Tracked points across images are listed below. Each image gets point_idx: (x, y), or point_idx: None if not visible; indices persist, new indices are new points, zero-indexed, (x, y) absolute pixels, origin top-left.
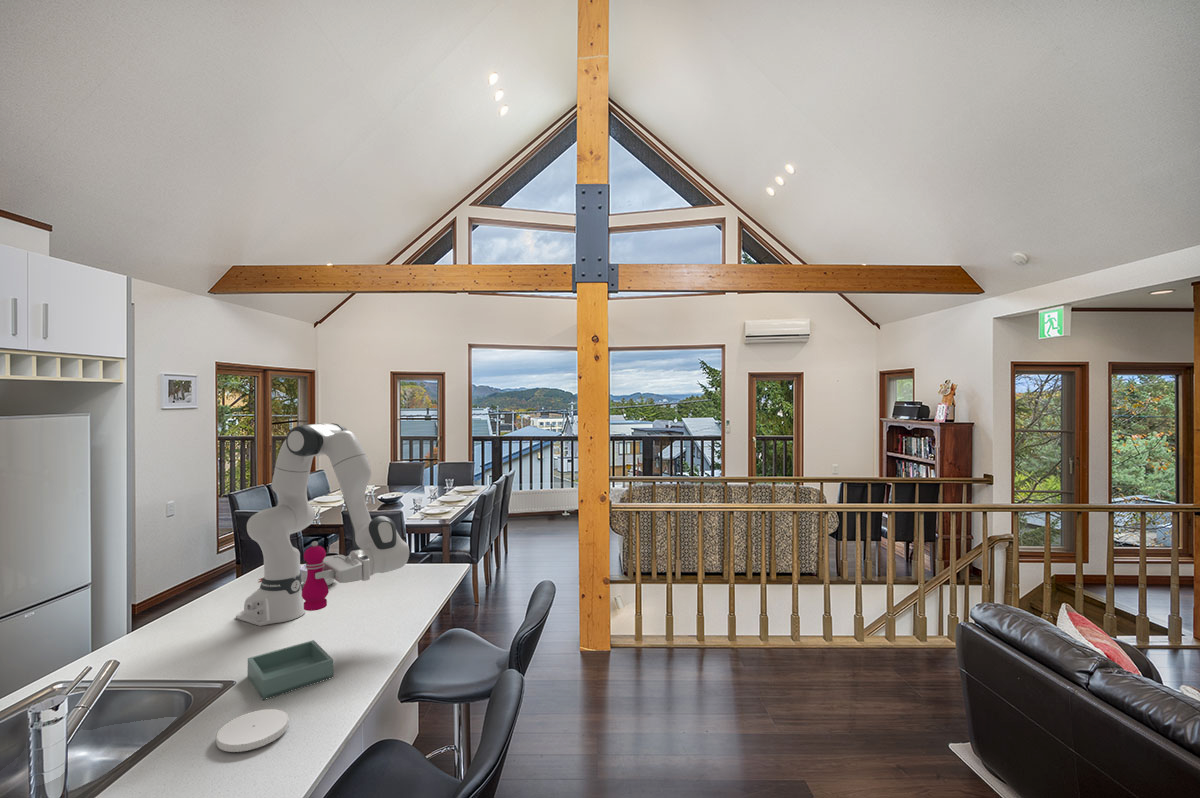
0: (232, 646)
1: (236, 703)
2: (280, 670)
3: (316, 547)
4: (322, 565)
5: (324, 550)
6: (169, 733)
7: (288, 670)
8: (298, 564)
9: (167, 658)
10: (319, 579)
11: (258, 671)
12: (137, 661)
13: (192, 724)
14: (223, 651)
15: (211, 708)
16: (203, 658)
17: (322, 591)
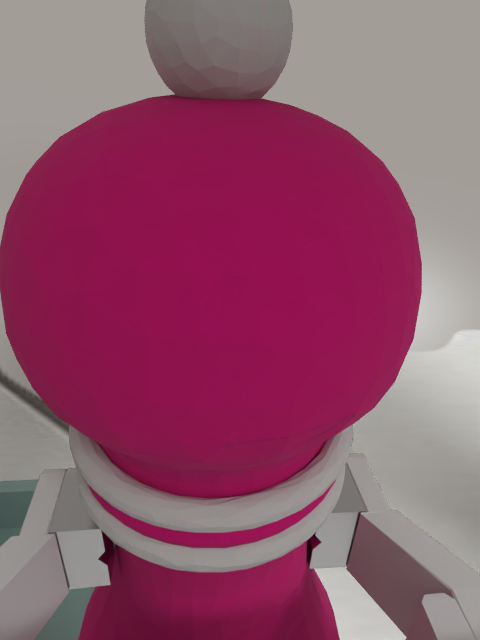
0: (456, 509)
1: (7, 474)
2: (84, 601)
3: (125, 105)
4: (104, 508)
5: (79, 267)
6: (10, 380)
7: (54, 630)
8: None
9: (417, 392)
10: (114, 592)
11: (13, 484)
12: (422, 359)
13: (4, 405)
14: (418, 484)
15: (42, 434)
16: (382, 443)
17: None
